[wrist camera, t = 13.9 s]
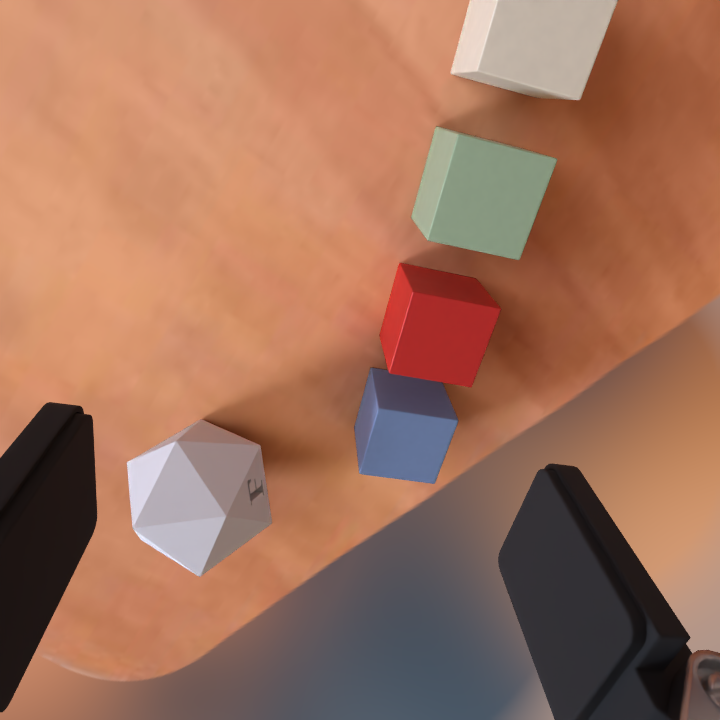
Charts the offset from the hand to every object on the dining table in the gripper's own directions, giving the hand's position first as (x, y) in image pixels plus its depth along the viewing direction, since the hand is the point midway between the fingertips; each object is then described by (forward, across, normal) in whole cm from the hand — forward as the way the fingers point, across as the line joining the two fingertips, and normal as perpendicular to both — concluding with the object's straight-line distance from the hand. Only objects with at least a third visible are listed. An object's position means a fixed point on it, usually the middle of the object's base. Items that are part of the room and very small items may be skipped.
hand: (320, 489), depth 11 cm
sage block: (+22, -8, -4) cm, 23 cm away
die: (+22, +5, +17) cm, 28 cm away
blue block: (+21, -7, +11) cm, 25 cm away
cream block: (+22, -8, -11) cm, 26 cm away
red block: (+22, -8, +4) cm, 23 cm away
